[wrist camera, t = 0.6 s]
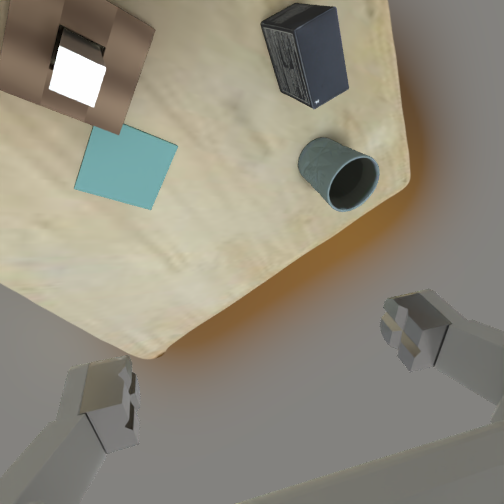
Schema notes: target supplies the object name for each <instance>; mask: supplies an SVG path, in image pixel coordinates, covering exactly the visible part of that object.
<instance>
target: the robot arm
mask: <svg viewBox="0 0 504 504" xmlns="http://www.w3.org/2000/svg"><path fill="white" fill-rule="evenodd" d="M383 308H384V309H385V311H386V313H385V314H384V315H383V316H382V318H381V322H380V328H381V333H382V335H383V337H384V340H385V341H386V342H387V344H388V345H389V346H391V347H393V348H395V349H397V356H398V358H399V359H400V360H401V361H402V363H403V364H404V365H405V366H406V368H407V369H408V370H409V371H410V372H413V371H418V370H422V369H426V368H430V367H434V368H435V369H437V370H438V371H440V372H442V373H443V374H445V375H447V376H448V377H450V378H452V379H453V380H455V381H457V382H459V383H460V384H462V385H464V386H465V387H467V388H468V389H470V390H472V391H473V392H475V393H476V394H478V395H480V396H481V397H483V398H485V399H486V400H488V401H490V402H491V403H493V404H495V405H496V406H497V407H496V409H495V410H494V412H493V414H492V416H491V422H492V424H489V425H486V426H482V427H479V428H476V429H473V430H470V431H466V432H463V433H460V434H456V435H453V436H450V437H447V438H444V439H440V440H437V441H434V442H431V443H428V444H424V445H421V446H418V447H415V448H412V449H409V450H405V451H402V452H399V453H395V454H392V455H389V456H386V457H383V458H379V459H376V460H373V461H370V462H367V463H363V464H360V465H357V466H354V467H351V468H348V469H344V470H341V471H338V472H335V473H332V474H328V475H325V476H322V477H319V478H316V479H312V480H309V481H307V482H303V483H300V484H297V485H293V486H290V487H287V488H284V489H281V490H278V491H274V492H271V493H268V494H265V495H262V496H258V497H255V498H252V499H249V500H246V501H242V502H239V503H236V504H504V332H503V331H501V330H499V329H496V328H493V327H491V326H488V325H485V324H483V323H480V322H477V321H475V320H467V319H466V318H465V317H464V316H462V315H461V314H460V313H459V312H458V311H457V310H455V309H454V308H453V307H452V306H451V305H450V304H448V303H447V302H446V301H445V300H444V299H443V298H441V297H440V296H439V295H438V294H437V293H436V292H435V291H433V290H431V289H426V290H422V291H417V292H414V293H408V294H404V295H400V296H395V297H391V298H387V300H386V301H385V302H384V307H383ZM139 408H140V388H139V383H138V379H137V376H136V374H135V373H133V372H132V362H131V359H130V357H129V356H128V355H126V356H121V357H116V358H111V359H105V360H100V361H96V362H91V363H87V364H81V365H76V366H72V367H71V368H70V370H69V371H68V374H67V378H66V381H65V385H64V389H63V393H62V397H61V401H60V405H59V409H58V413H57V417H56V421H53V422H49V423H48V424H47V426H46V427H45V428H44V429H43V430H42V431H41V432H40V434H39V435H38V436H37V437H36V438H35V439H34V440H33V441H32V443H31V444H30V445H29V446H28V447H27V448H26V449H25V451H24V452H23V453H22V454H21V455H20V456H19V457H18V458H17V460H16V461H15V462H14V463H13V464H12V465H11V466H10V468H9V469H8V470H7V471H6V472H5V473H4V474H3V475H2V477H1V478H0V504H80V502H81V500H82V498H83V497H84V495H85V493H86V491H87V490H88V488H89V486H90V484H91V482H92V481H93V479H94V477H95V476H96V474H97V472H98V470H99V469H100V467H101V465H102V463H103V462H104V460H105V458H106V454H108V453H111V452H115V451H118V450H122V449H125V448H128V447H132V446H135V445H138V444H139V430H140V421H139V418H138V415H137V413H136V412H137V411H138V409H139Z"/></svg>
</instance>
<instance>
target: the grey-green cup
mask: <svg viewBox="0 0 504 504" xmlns="http://www.w3.org/2000/svg"><path fill="white" fill-rule="evenodd" d="M298 162H299V163H298V165H299V171H300V173H301V175H302V176H303V177H304V178H305V179H306V180H307V181H308V182H309V183H310V184H311V186H312V187H313V188H314V189H315V190H316V191H317V192H318V193H320V195H321V196H322V197H323V198H324V199H325V200H326V202H327V203H328V204H329V205H330V206H331V207H332V208H333V209H334V210H336V211H340V212H346V211H351V210H353V209H356V208H357V207H359V206H360V205H362V204H363V203H364V202H365V201H366V200H367V199H368V198H369V197H370V196H371V194H372V193H373V192H374V190H375V188H376V186H377V183H378V180H379V166H378V164H377V162H376V161H375V160H374V159H373V158H372V157H370V156H367V155H365V154H362V153H360V152H357V151H355V150H352V149H351V148H348V147H346V146H342V145H341V144H339V143H337V142H335V141H333V140H331V139H329V138H317V139H315V140H313V141H311V142H310V143H309V144H308V145H307V146H306V147H305V148H304V149H303V151H302V153H301V154H300V157H299V161H298Z"/></svg>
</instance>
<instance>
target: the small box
mask: <svg viewBox="0 0 504 504" xmlns="http://www.w3.org/2000/svg"><path fill="white" fill-rule="evenodd" d="M261 27H262V30H263V34H264V37H265V41H266V44H267V47H268V51H269V54H270V57H271V61H272V64H273V68H274V71H275V74H276V77H277V81H278V84H279V87H280V90H281V92H282V93H284V94H286V95H288V96H290V97H292V98H294V99H296V100H298V101H300V102H302V103H303V104H305V105H307V106H309V107H311V108H313V109H316V108H318V107H319V106H321V105H323V104H324V103H326V102H328V101H329V100H331V99H333V98H334V97H336V96H338V95H339V94H341V93H343V92H345V91H346V90H348V89H349V85H348V78H347V72H346V66H345V60H344V54H343V48H342V41H341V35H340V28H339V22H338V15H337V9H336V7H333V6H331V7H330V6H319V5H310V4H300V3H295V4H293V5H291V6H289V7H287V8H286V9H284V10H282V11H280V12H278V13H276V14H275V15H273V16H271V17H269V18H267V19H266V20H264V21H262V22H261Z"/></svg>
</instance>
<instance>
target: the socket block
mask: <svg viewBox="0 0 504 504" xmlns="http://www.w3.org/2000/svg"><path fill="white" fill-rule="evenodd" d="M59 24H61V25H63V26H65V27H67V28H69V29H70V30H72V31H74V32H76V33H78V34H80V35H82V36H84V37H86V38H88V39H90V40H92V41H94V42H96V43H98V44H100V45H102V46H104V48H103V51H102V57H103V60H104V63H105V66H106V70H105V73H104V76H103V79H102V83H101V86H100V89H99V93H98V96H97V99H96V102H95V106H94V107H91V106H89V105H86V104H84V103H82V102H79V101H77V100H74V99H72V98H69V97H67V96H64V95H62V94H60V93H57V92H55V91H52V90H50V89H49V86H50V82H51V78H52V74H53V70H54V65H52V64H50V62H51V58H52V54H53V49H54V45H55V41H56V37H57V33H58V28H59ZM154 33H155V29H154V28H152V27H151V26H149V25H147V24H146V23H144V22H142V21H141V20H139V19H137V18H136V17H134V16H132V15H130V14H129V13H127V12H125V11H124V10H122V9H120V8H119V7H117V6H115V5H114V4H112V3H110V2H108V1H107V0H10V5H9V11H8V17H7V22H6V28H5V33H4V39H3V45H2V50H1V56H0V90H1V91H4V92H6V93H9V94H12V95H14V96H17V97H20V98H22V99H25V100H27V101H30V102H33V103H35V104H38V105H40V106H43V107H46V108H48V109H51V110H54V111H56V112H59V113H61V114H64V115H67V116H69V117H72V118H75V119H77V120H80V121H82V122H85V123H88V124H90V125H93V126H95V127H98V128H101V129H103V130H106V131H109V132H111V133H114V134H116V135H119V134H120V131H121V129H122V126H123V123H124V120H125V117H126V114H127V111H128V108H129V105H130V103H131V100H132V97H133V94H134V91H135V88H136V85H137V82H138V79H139V77H140V74H141V71H142V68H143V65H144V62H145V59H146V56H147V53H148V51H149V48H150V45H151V42H152V39H153V36H154Z"/></svg>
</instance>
